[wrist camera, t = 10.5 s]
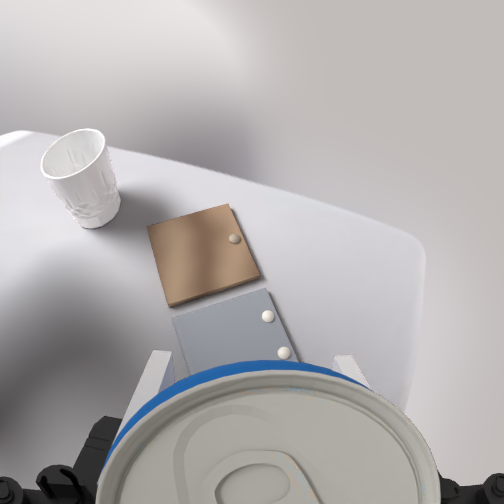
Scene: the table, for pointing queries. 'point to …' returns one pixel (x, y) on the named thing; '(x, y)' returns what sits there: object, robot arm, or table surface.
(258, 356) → the two-dot tile
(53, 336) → the table surface
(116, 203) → the white cup
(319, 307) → the table surface
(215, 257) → the one-dot tile
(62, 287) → the table surface
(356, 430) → the beverage can
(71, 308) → the table surface
